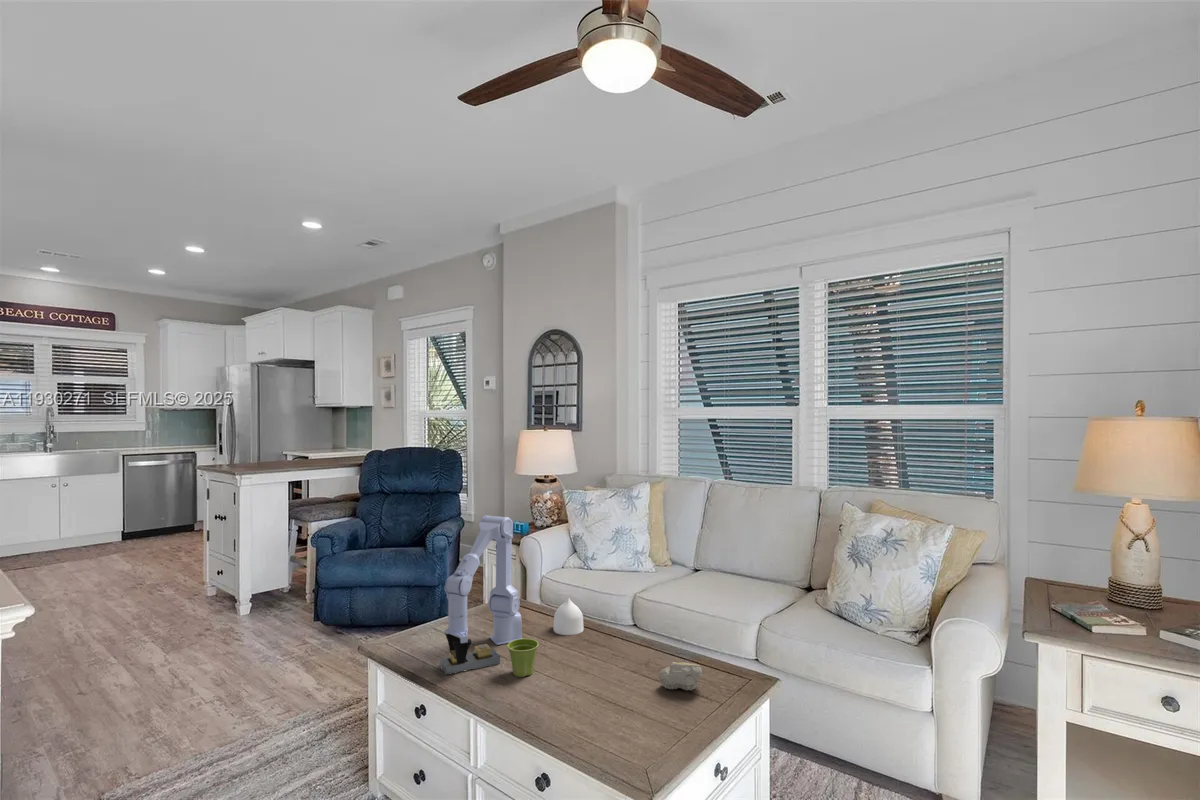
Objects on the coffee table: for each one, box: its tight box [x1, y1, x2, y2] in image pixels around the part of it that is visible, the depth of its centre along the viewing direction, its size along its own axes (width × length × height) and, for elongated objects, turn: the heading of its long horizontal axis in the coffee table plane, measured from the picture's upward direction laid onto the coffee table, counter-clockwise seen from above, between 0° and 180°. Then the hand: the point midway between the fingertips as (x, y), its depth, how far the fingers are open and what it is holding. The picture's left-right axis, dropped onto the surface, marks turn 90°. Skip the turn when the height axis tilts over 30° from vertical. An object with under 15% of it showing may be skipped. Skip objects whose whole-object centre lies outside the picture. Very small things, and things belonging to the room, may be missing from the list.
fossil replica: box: [657, 661, 703, 692], centre depth 173 cm, size 12×8×10 cm
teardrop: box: [552, 596, 585, 636], centre depth 219 cm, size 11×11×12 cm
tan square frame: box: [474, 643, 492, 660], centre depth 190 cm, size 4×4×5 cm
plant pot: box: [506, 638, 540, 678], centre depth 183 cm, size 9×9×9 cm
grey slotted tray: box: [439, 648, 501, 675], centre depth 188 cm, size 17×7×2 cm, turn 119°
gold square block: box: [448, 650, 458, 665], centre depth 186 cm, size 4×4×5 cm
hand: (457, 658), depth 186 cm, fingers open, 7 cm apart
